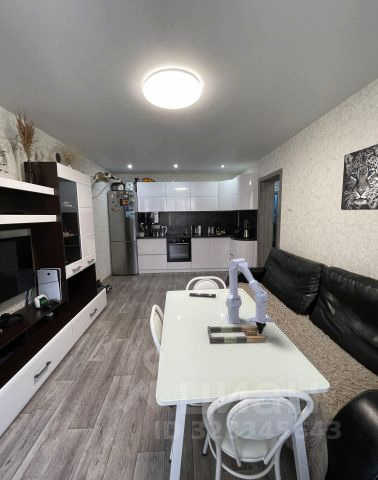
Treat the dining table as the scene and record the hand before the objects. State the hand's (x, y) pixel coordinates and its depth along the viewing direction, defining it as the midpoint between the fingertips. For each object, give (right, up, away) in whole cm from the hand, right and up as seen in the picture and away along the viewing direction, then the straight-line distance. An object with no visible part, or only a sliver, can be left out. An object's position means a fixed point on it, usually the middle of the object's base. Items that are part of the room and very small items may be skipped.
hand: (260, 333), depth 128 cm
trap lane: (-15, -2, 0) cm, 15 cm away
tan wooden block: (-6, -2, 0) cm, 6 cm away
